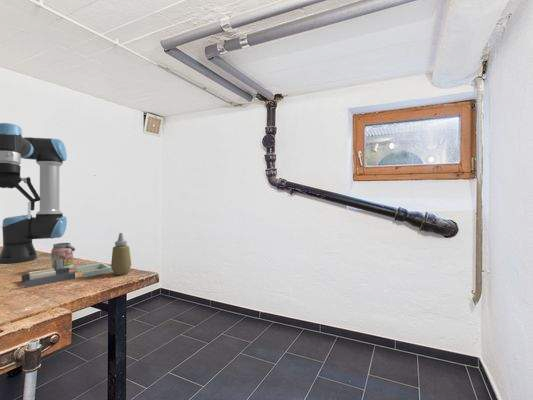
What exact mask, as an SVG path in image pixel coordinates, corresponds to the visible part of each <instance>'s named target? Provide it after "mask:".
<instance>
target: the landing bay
mask: <svg viewBox="0 0 533 400" xmlns="http://www.w3.org/2000/svg"><path fill="white" fill-rule="evenodd" d="M90 269H91V270H90ZM84 270H85V271H84ZM78 271H79V272H82V277H83V278H87V277H92V276H97V275H98V276H99V275H102V274H103V275H104V274H108V273H113V270H112V268H111V265H108V264H106V263H104V262H99V263H91V264H86V265H81V266H76V267H75V273H79V272H78Z"/></svg>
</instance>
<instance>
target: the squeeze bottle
mask: <svg viewBox="0 0 533 400" xmlns="http://www.w3.org/2000/svg"><path fill="white" fill-rule="evenodd" d="M130 251H131V250H130V246H129V245H128V241H127V240H125V239H124V235H123V232H119V233H118V238H117V240H116V241H114V246H113V247H112V254H111V262H110V263H111V264H110V267H111V268H112V273H113V274H114V275H115V276H123V275H124V276H125V275H127V274H129V273H130V270H131V267H132V259H131V252H130Z"/></svg>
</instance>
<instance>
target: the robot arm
mask: <svg viewBox="0 0 533 400" xmlns="http://www.w3.org/2000/svg"><path fill="white" fill-rule="evenodd" d="M22 132H23V131H22V127H21V126H19V125H17V124H14V123H7V122H0V188H1V189H17V190H18V191H19V192H20V193H21V194H22V195H23V196H24V197H25V198H26V199H27V200H28V202H27V214H21V215H16V216H8V217H5V218H3V220H2V226H1V229H2V249H1V251H0V264H15V263H17V264H18V263H23V262H29V261H33V260H36V259H37V258H38V253H37V251H36V249H35V247H34V244H33V240H44V239H47V240H49V239H60V238H62V237H63V236H64V234H65V232H66V230H67V223H68V219H67V216H64V214H63V211H61V210H60V167H61V166H62V165H63V164H64V163H63V162H65V161H67V148H66V145H65V143H64V142H63V140H61V139H60V138H59V139H58V138H57V139H56V138H46V137H32V136H31V137H23V133H22ZM22 159H25V160H34V161H35V163H36V164H37V165H39V194H38V192H37V190H36V189H35V187H34V185H33V184H32V181H31V180H32V179H31V177H29V176H27V177H21V165H20V164H21V163H22V162H21V161H22ZM21 182H23V183H24V184H26V185H27V188H29V190H30V192H31V194H32V196H33V197H32V196H31V195H30V194H29V193H28V192H27V191H26V190H25V189H24V188H23V187H22V186H21V185H20V183H21ZM36 202H39V211H37V212H36V213H35V216H33V215H32V213H31V211H35V203H36Z"/></svg>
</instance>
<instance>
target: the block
mask: <svg viewBox="0 0 533 400" xmlns="http://www.w3.org/2000/svg"><path fill="white" fill-rule="evenodd" d="M28 274H29V280H31V279H37V278H42V277H48V276H54V275H56V271H55V270H54V269H52V268H48V269H47V268H46V269H42V270H37V271H35V270H33V271H29V272H28Z"/></svg>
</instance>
